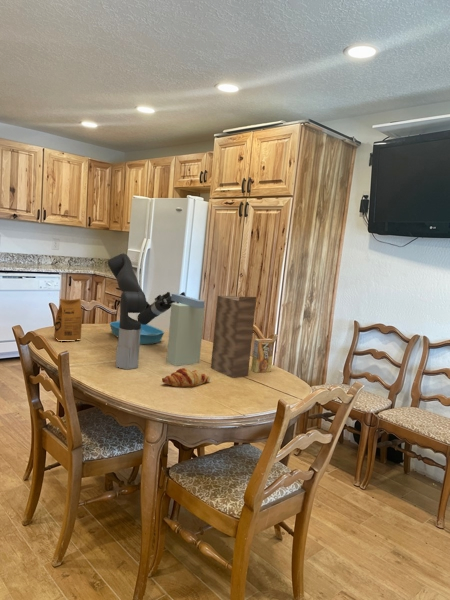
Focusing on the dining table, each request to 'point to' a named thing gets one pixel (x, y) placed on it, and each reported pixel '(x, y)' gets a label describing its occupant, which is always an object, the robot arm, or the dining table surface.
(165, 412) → the dining table surface
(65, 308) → the coffee package
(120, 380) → the dining table surface
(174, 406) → the dining table surface
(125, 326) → the robot arm
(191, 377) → the croissant
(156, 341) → the casserole dish
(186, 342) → the step
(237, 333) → the post
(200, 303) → the rail
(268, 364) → the candy box
